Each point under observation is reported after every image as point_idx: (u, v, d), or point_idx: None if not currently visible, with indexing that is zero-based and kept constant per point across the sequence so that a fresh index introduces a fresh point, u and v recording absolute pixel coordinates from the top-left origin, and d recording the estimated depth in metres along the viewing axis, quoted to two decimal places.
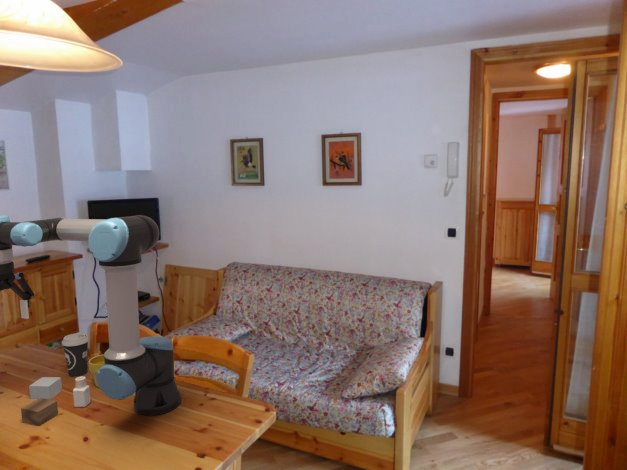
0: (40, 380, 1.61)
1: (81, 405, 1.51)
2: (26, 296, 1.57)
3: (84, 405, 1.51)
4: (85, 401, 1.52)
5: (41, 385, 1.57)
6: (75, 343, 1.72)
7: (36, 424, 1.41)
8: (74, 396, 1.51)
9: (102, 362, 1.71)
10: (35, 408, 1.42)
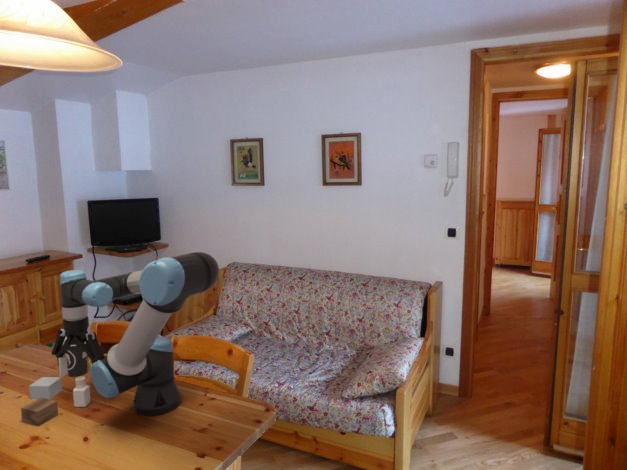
0: (40, 380, 1.61)
1: (81, 405, 1.51)
2: (92, 360, 1.48)
3: (84, 405, 1.51)
4: (85, 401, 1.52)
5: (41, 385, 1.57)
6: None
7: (36, 424, 1.41)
8: (74, 396, 1.51)
9: None
10: (34, 408, 1.42)
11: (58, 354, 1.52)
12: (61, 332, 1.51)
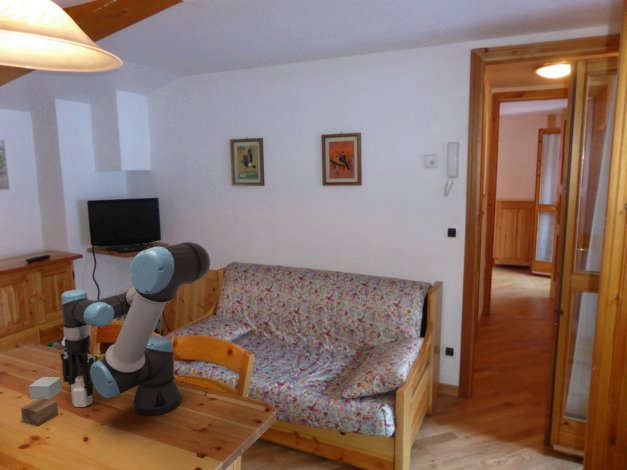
0: (40, 380, 1.61)
1: (81, 405, 1.51)
2: (85, 383, 1.50)
3: (84, 405, 1.51)
4: None
5: (41, 385, 1.57)
6: None
7: (35, 424, 1.41)
8: (74, 396, 1.51)
9: None
10: (34, 408, 1.42)
11: (69, 380, 1.52)
12: (64, 355, 1.52)
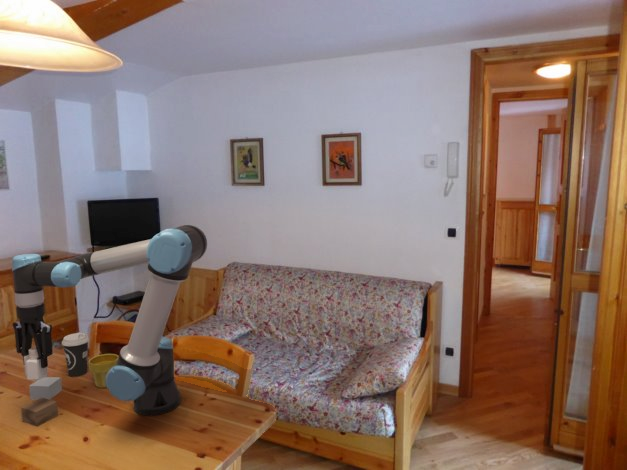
0: (40, 380, 1.61)
1: (35, 378, 1.41)
2: (39, 354, 1.40)
3: None
4: None
5: (41, 385, 1.57)
6: (75, 343, 1.72)
7: (35, 424, 1.41)
8: (27, 368, 1.41)
9: (102, 362, 1.71)
10: (34, 408, 1.42)
11: (22, 351, 1.42)
12: (16, 324, 1.42)
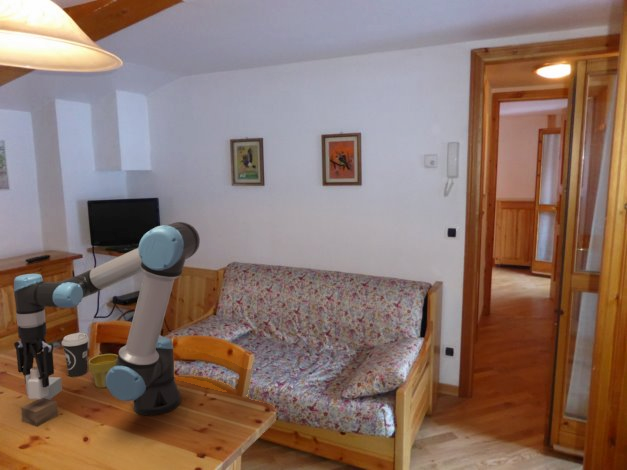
0: None
1: (36, 397, 1.42)
2: (40, 373, 1.41)
3: (39, 397, 1.42)
4: None
5: None
6: (75, 343, 1.72)
7: (34, 424, 1.41)
8: (29, 387, 1.41)
9: (102, 362, 1.71)
10: (34, 408, 1.42)
11: (24, 371, 1.43)
12: (18, 343, 1.42)
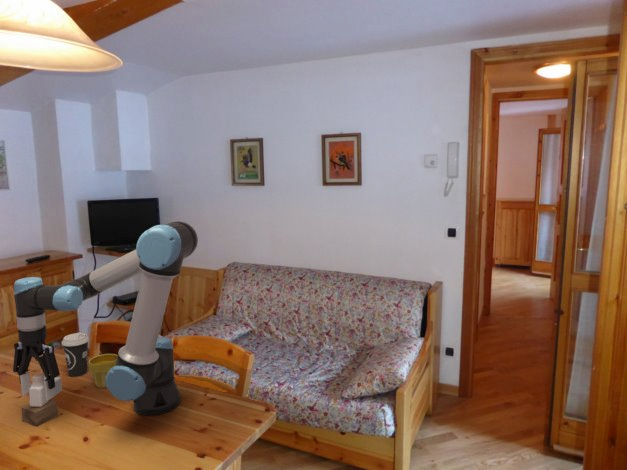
0: None
1: (37, 405, 1.42)
2: (46, 375, 1.40)
3: (40, 405, 1.42)
4: (41, 401, 1.42)
5: None
6: (75, 343, 1.72)
7: (34, 424, 1.41)
8: (30, 395, 1.42)
9: (102, 362, 1.71)
10: (34, 408, 1.42)
11: (19, 371, 1.43)
12: (18, 345, 1.43)
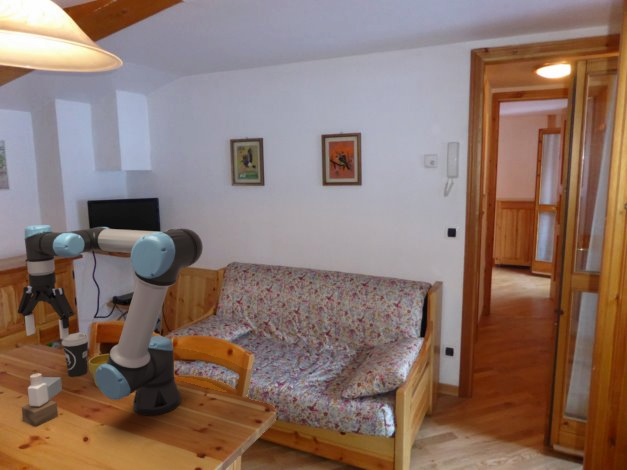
0: None
1: (36, 404, 1.42)
2: (60, 315, 1.45)
3: (39, 404, 1.42)
4: (40, 400, 1.42)
5: None
6: (75, 343, 1.72)
7: (33, 425, 1.40)
8: (29, 394, 1.42)
9: (102, 362, 1.71)
10: (33, 408, 1.42)
11: (24, 312, 1.49)
12: (27, 289, 1.48)
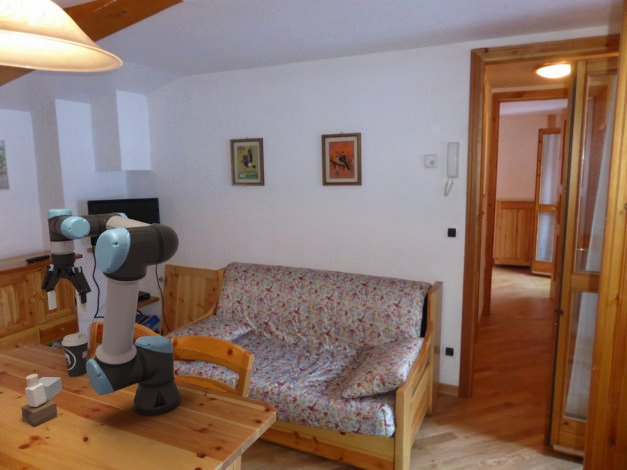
0: (40, 380, 1.61)
1: (33, 405, 1.42)
2: (79, 291, 1.59)
3: (35, 405, 1.42)
4: (36, 401, 1.42)
5: None
6: (75, 343, 1.72)
7: (32, 425, 1.40)
8: (26, 395, 1.42)
9: None
10: (33, 408, 1.42)
11: (47, 288, 1.63)
12: (50, 267, 1.62)
